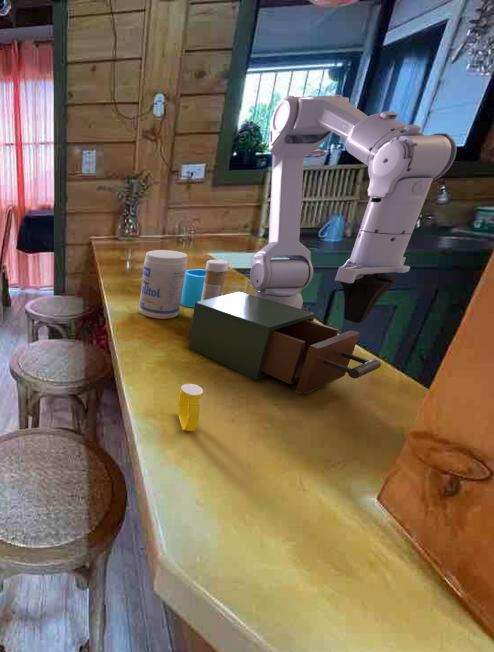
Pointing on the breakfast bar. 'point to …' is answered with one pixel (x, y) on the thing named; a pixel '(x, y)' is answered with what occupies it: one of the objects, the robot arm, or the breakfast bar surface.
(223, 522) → the breakfast bar surface
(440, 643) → the breakfast bar surface
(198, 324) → the cabinet
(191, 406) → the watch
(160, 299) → the supplement tub
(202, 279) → the mug
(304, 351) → the drawer
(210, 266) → the sprinkles bottle
